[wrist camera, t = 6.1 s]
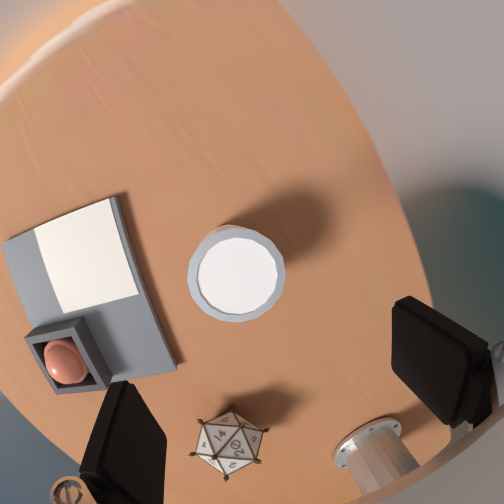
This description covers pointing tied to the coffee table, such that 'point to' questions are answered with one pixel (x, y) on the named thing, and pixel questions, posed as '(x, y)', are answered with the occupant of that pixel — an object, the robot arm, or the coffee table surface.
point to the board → (88, 297)
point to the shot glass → (236, 274)
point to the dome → (65, 361)
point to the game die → (229, 442)
